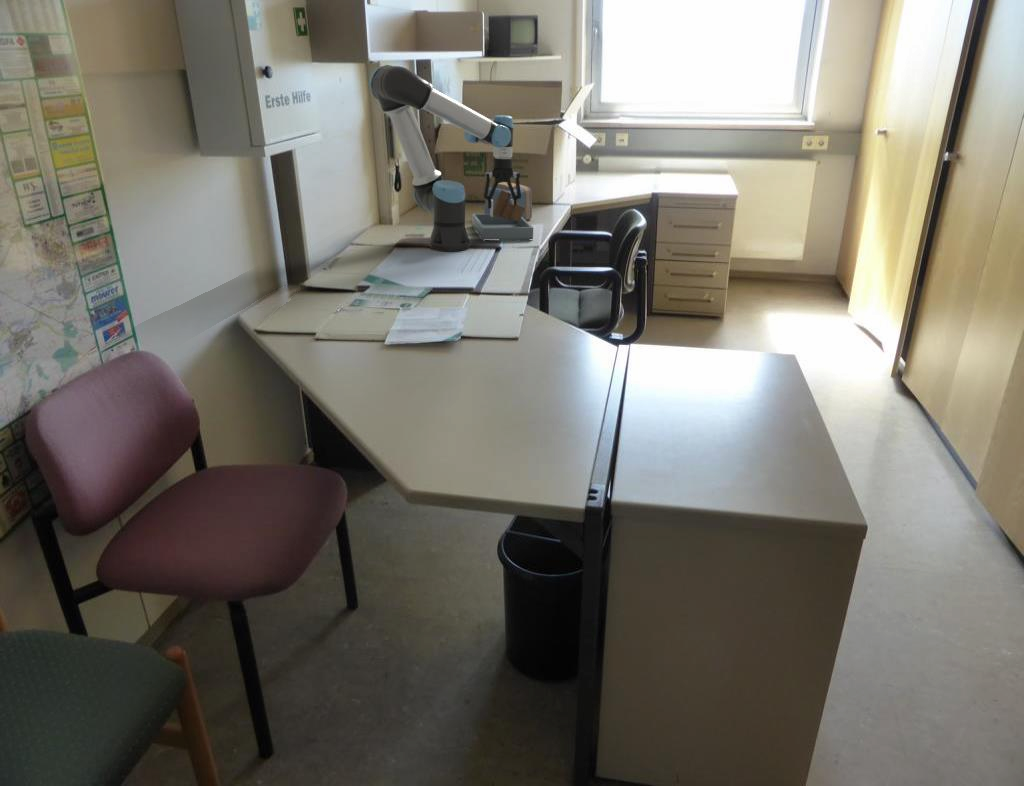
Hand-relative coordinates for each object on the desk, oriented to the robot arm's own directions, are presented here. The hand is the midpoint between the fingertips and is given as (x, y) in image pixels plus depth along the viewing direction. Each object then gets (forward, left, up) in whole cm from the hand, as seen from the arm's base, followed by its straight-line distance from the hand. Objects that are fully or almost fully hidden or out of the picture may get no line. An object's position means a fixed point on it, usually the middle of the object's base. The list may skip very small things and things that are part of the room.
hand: (501, 216), depth 295 cm
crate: (0, 0, -7) cm, 7 cm away
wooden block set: (+2, 0, -1) cm, 2 cm away
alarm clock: (+8, +27, -7) cm, 29 cm away
